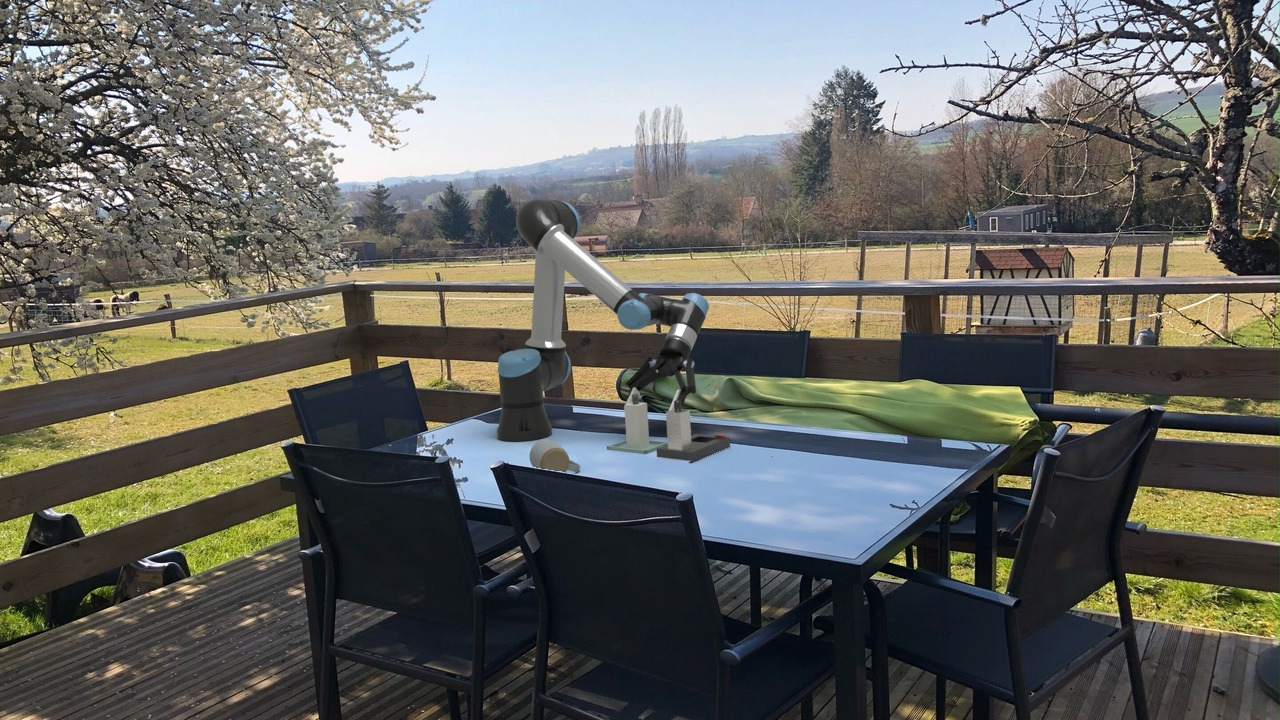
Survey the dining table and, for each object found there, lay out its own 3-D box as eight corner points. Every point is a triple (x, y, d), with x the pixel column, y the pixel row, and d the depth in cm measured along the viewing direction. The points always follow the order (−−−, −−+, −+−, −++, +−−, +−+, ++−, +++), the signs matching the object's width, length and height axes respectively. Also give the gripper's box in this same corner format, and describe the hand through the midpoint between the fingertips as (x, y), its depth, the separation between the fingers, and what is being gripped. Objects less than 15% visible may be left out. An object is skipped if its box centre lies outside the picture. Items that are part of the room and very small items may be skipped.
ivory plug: (627, 448, 222) (623, 395, 220) (636, 444, 225) (633, 392, 224) (639, 449, 220) (636, 396, 218) (649, 446, 223) (646, 393, 221)
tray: (607, 451, 222) (606, 446, 222) (631, 443, 230) (630, 437, 230) (645, 456, 215) (645, 450, 215) (669, 447, 223) (669, 442, 223)
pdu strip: (657, 458, 212) (653, 401, 210) (695, 443, 225) (693, 389, 224) (692, 463, 206) (689, 404, 204) (730, 447, 219) (727, 391, 218)
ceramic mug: (541, 481, 198) (539, 447, 197) (530, 473, 205) (528, 440, 204) (586, 474, 202) (584, 441, 201) (573, 467, 210) (571, 435, 209)
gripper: (725, 354, 229) (697, 424, 219) (645, 353, 243) (616, 418, 233) (713, 337, 224) (684, 407, 214) (633, 336, 238) (602, 402, 228)
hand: (649, 413), depth 223 cm, fingers open, 13 cm apart
